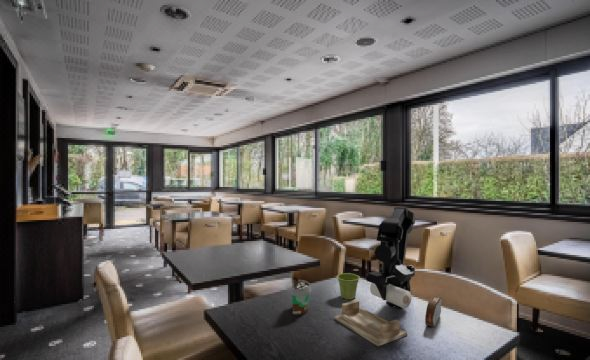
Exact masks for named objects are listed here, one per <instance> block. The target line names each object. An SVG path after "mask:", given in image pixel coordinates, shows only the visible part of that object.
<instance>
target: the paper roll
mask: <svg viewBox="0 0 590 360" xmlns="http://www.w3.org/2000/svg"><path fill="white" fill-rule="evenodd" d="M369 290H370V294H371V295H373V296H374V297H377V298H379V299H381V300H383V299H382V297H381V295H380V293H379V291H378V289H377V287H376V285H375V284H374V283H371V282H370V287H369ZM384 301H385V302H386V301H388V302H390V303H393V304H395V305H397V306H400V307H402V309H407V308H408V307H409V306H410V304H411V303H412V294H411V291H407V290H404V289H401V288H399V287H396V286H394V285H391V284H389V285H388V286H387V287H386V299H385V300H384Z"/></svg>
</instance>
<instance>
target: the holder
mask: <svg viewBox="0 0 590 360" xmlns="http://www.w3.org/2000/svg"><path fill="white" fill-rule="evenodd" d="M334 320H335V321H337V322H338V323H340V324H341V325H343V326H345V327H347V329H349V330H351V331H353V332H354V333H356V334H357V335H359V336H361V337H362V338H364V339H365V340H367V341H369V342H370V343H372V344H373V345H376V346H377V347H380V346H382V345H385V344H387V343H388V344H389V343H391V342H393V341H396V340H399V339H400V338H403V337H406V336H408V332H407V331H406V330H404V329H402V328H401V327H400V320H398V319H393V320H390V321H388V320H386V319H384V318H382V317H380V316H378V315H376V314H374V313H373V312H370V311H369V310H367V309H364V308H363V307H360V301H359V300H357V299H355V300H352V301H347V302H345V303H341V313H339V314H338V315H334Z"/></svg>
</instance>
